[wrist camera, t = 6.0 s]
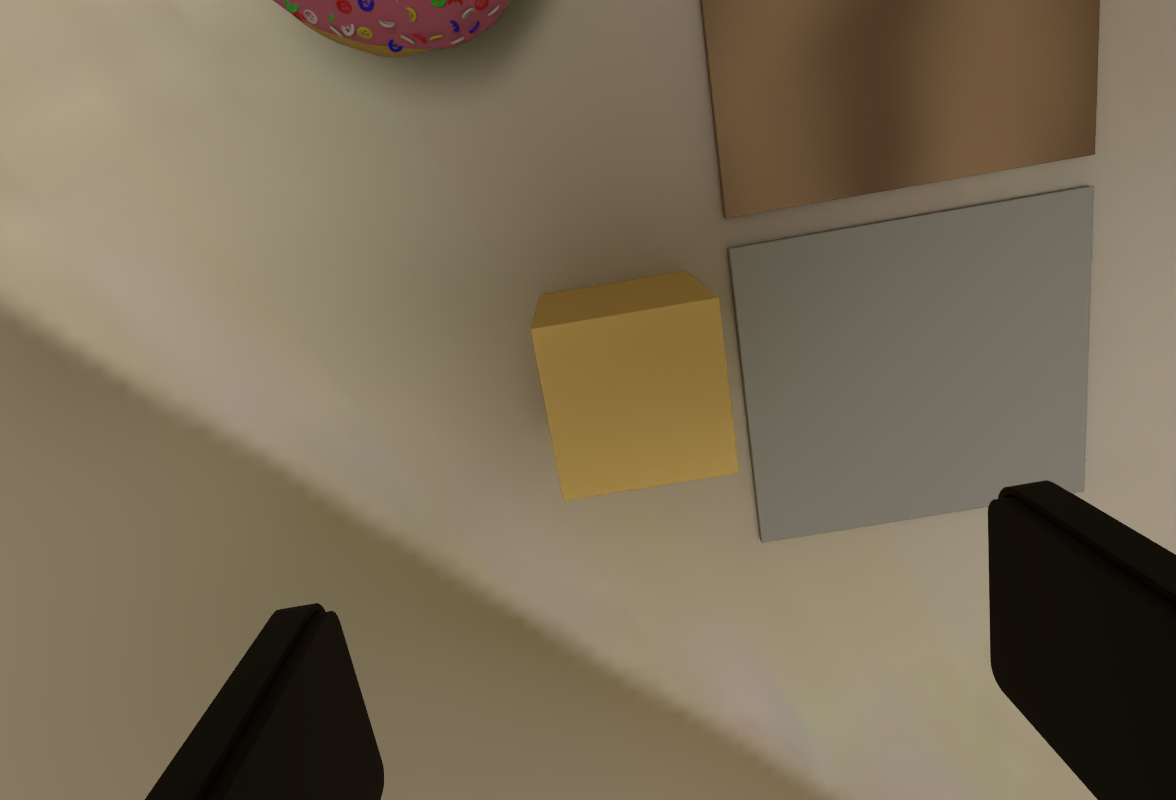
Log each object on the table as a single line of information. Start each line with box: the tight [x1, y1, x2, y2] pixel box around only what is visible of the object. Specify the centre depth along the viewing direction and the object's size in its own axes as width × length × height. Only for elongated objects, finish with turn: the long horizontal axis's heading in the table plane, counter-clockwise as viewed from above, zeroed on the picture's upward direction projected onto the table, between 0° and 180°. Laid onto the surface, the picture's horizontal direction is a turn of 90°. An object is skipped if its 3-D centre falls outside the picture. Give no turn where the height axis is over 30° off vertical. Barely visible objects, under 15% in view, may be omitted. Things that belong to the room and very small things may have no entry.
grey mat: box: [728, 186, 1094, 543], centre depth 26 cm, size 12×11×1 cm
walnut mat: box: [700, 0, 1100, 218], centre depth 22 cm, size 12×11×1 cm
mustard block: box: [531, 271, 739, 501], centre depth 23 cm, size 5×5×6 cm
